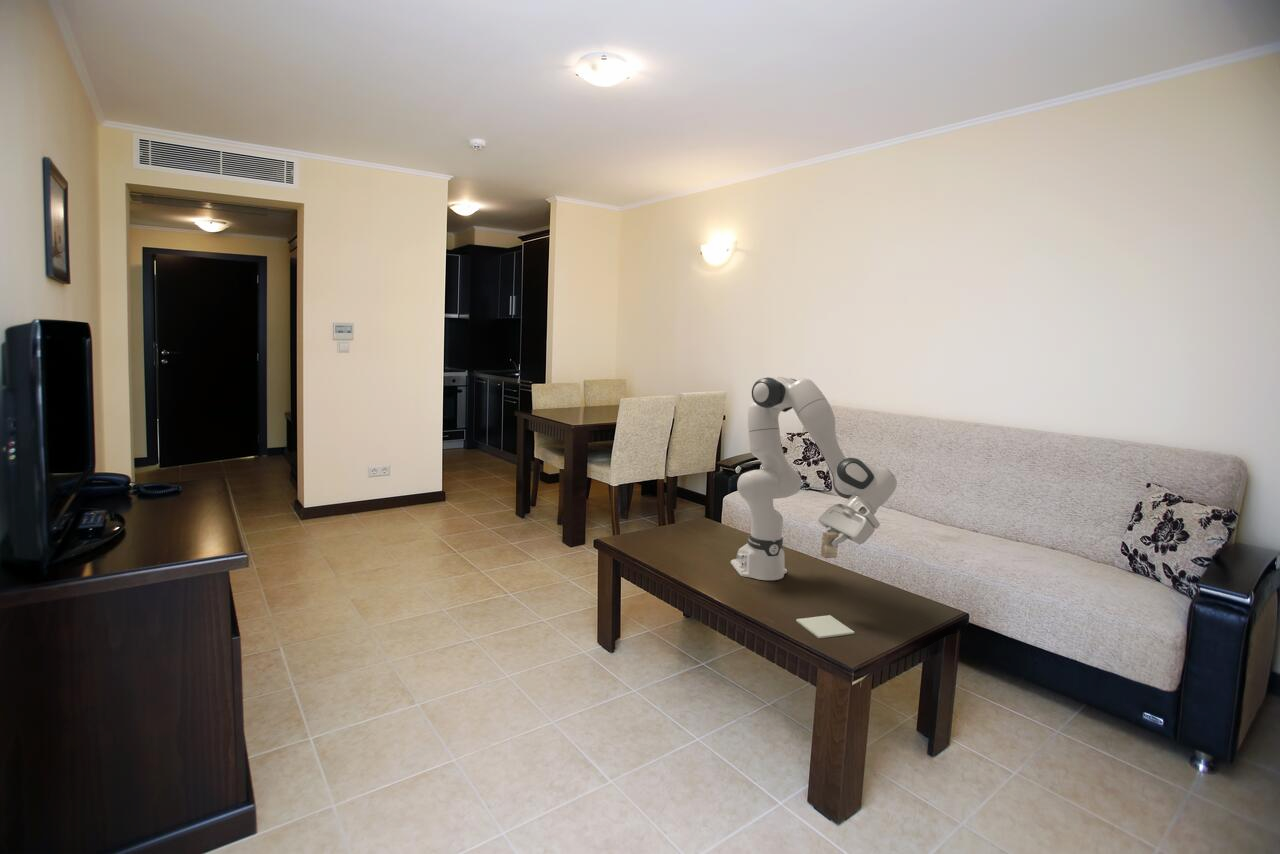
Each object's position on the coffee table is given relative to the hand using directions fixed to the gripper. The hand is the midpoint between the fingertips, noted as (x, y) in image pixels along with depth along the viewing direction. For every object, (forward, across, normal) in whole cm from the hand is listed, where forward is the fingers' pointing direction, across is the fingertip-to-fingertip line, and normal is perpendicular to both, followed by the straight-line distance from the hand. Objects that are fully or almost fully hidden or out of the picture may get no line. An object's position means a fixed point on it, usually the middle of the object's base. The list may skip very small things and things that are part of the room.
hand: (828, 543), depth 203 cm
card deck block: (+3, 0, +4) cm, 4 cm away
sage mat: (+20, +10, +11) cm, 25 cm away
